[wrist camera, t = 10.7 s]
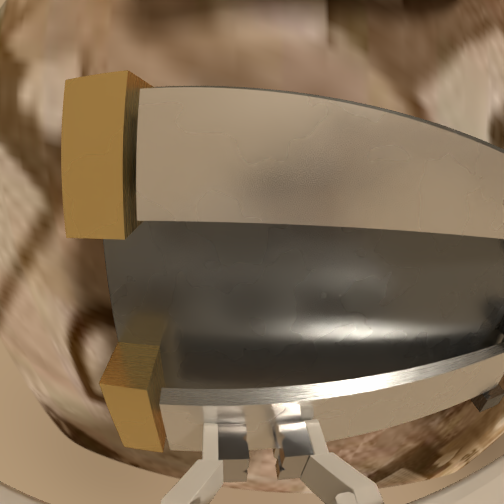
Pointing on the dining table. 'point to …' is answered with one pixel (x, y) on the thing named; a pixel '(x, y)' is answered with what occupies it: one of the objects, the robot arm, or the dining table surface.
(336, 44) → the dining table surface
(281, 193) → the strap near
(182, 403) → the strap far
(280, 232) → the grey boxy piece
